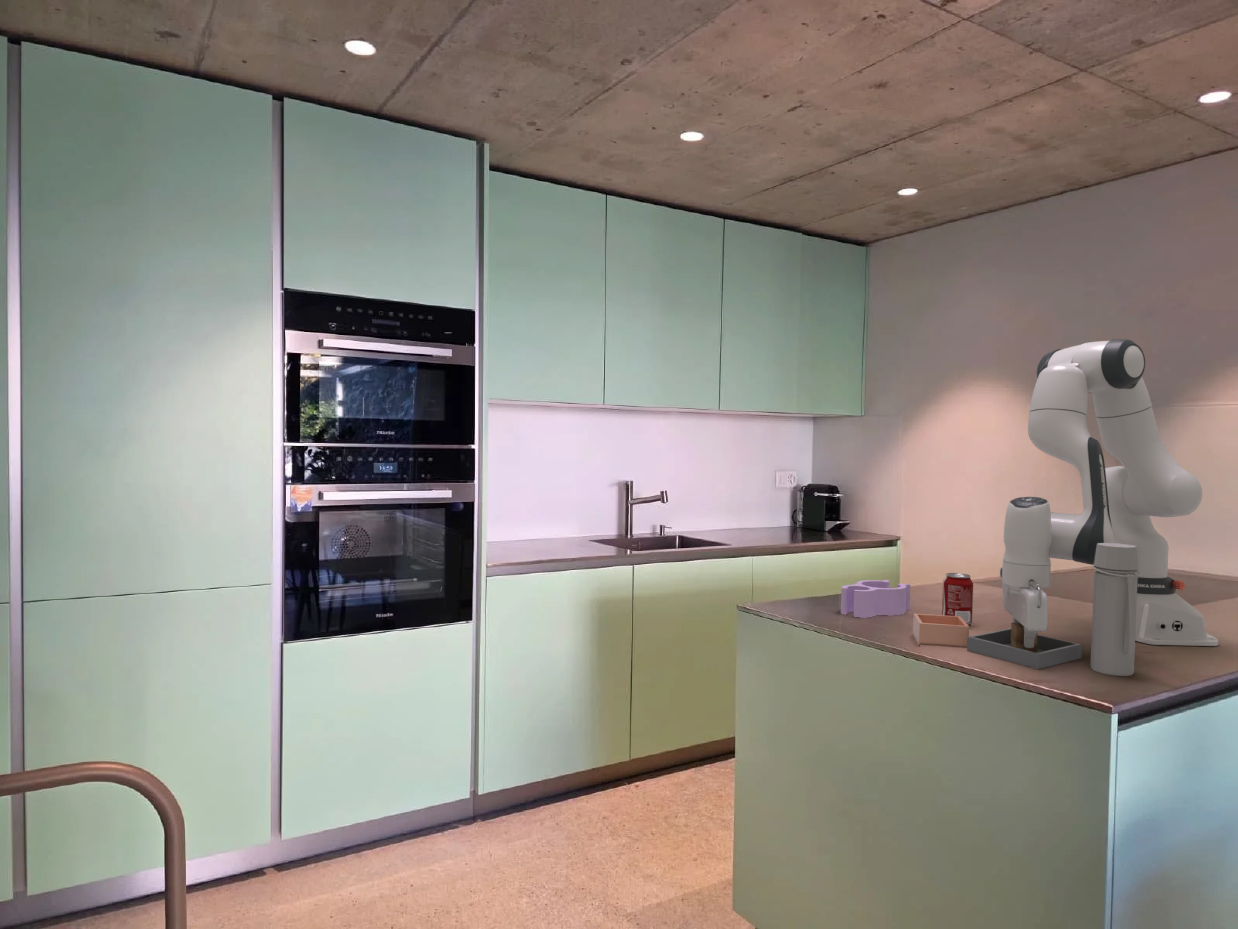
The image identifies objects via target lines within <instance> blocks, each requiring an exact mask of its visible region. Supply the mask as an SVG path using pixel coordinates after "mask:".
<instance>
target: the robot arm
mask: <svg viewBox="0 0 1238 929" xmlns="http://www.w3.org/2000/svg"><path fill="white" fill-rule="evenodd" d="M1145 368H1146V357H1145V354H1144V351H1143V349H1142V348H1141V347H1140V346H1139V345H1138V344H1137V343H1136V342H1135V341H1134V340H1131V339H1126V338H1125V339H1124V338H1114V339H1113V338H1112V339H1111V340H1100V341H1090V342H1085V343H1082V344H1078V345H1073V346H1069V347H1065V348H1057V349H1055V350H1052V351H1050V352H1047V353H1046V354H1044V355H1043V356H1042V358H1041V359H1040V361H1039V362H1038V365H1037V366H1036V382H1035V384H1034V388H1033V391H1032V395H1031V400H1030V405H1029V413H1028V419H1027V433H1028V437H1029V440H1030V441H1031V442H1032V444H1033V445H1034V447H1035V448H1037V449H1039V451H1041V452H1042V453H1045V454H1046V455H1048V456H1051V457H1053V458H1056V459H1057V460H1061V461H1063V462H1065V463H1067V464H1068V463H1069V464H1070V465H1072V466H1073V467H1075V469H1077V471H1078V472H1079V475H1080V482H1081V483H1080V484H1081V495H1082V506H1083V510H1082V512H1081V513H1079V514H1077V513H1076V514H1075V513H1074V514H1073V513H1064V512H1061V513H1060V512H1053V511H1051V506H1050V502H1049V500H1047V499H1045V498H1044V497H1043V498H1042V497H1037V496H1022V497H1021V496H1020V497H1016V498H1014V499H1011V500H1010V501H1009V502H1008V504H1007V508H1006V512H1005V519H1004V526H1003V543H1004V548H1005V551H1004V555H1003V557H1002V566H1001V567H1000V568H999V577H1000V578H1001V583H1002V585H1001V586H1002V602H1003V608H1004V610H1005V612H1006V613H1008V614H1009V615H1010V616H1011V617H1012V623H1021V624H1022V625H1023V626H1024V630H1025V631H1024V637H1023V645H1024V646H1025V647H1026V648H1033V647H1034V639H1035V636H1036V633H1037V634H1038V632H1047V629H1048V628H1049V604H1048V603H1049V602H1048V595H1047V593H1046V592H1045V591H1044V589H1047V588H1049V587H1051V570H1052V569H1051V565H1052V564H1051V563H1052V560H1051V559H1057V560H1066V561H1067V560H1068V561H1074V562H1075V563H1080V564H1081V563H1082V564H1086V565H1090V566H1094V560H1095V553H1096V547H1097V544H1098V543H1118V544H1128V545H1134V546H1137V559H1138V569H1137V570H1138V571H1140V572H1141V573H1142V575H1141V576H1139V577H1138V581H1137V606H1136V630H1135V642H1140V643H1142V644H1148V645H1156V646H1162V645H1163V646H1200V647H1202V646H1203V647H1205V646H1206V647H1217V646H1218V645H1219V640H1218V638H1216V637H1215V636H1214V635H1212V634H1209V633H1208V632H1207V625H1206V621H1205V617H1204V616H1203V614H1202V613H1201V612H1200V611H1199V610H1198V609H1196V607H1194V606H1192V605H1191V604H1190V603H1189V602H1187V601H1186V600H1185V599H1184V598H1182V597H1181V596H1179V595H1178V594H1177V593H1176V591H1178V590H1179V591H1183V590H1184V589H1185V588H1186V583H1185V582H1184V581H1183V580H1179V579H1172V577H1169V576H1168V569H1169V544H1168V541H1167V540H1166V538H1165V537H1164V536H1163V535H1161V534H1160V533H1159V532H1158V531H1157V530H1156V528H1155V527H1154V525H1153V523H1152V519H1151V517H1159V518H1177V517H1183V516H1184V517H1185V516H1188V515H1190V514H1192V513H1194V512H1195V511H1196V510H1197V509H1198V508H1199V506H1200V504H1201V502H1202V499H1203V488H1202V484H1201V483H1200V481H1199V479H1198V478H1197V477H1196V476H1195V475H1193V474H1192V473H1191V472H1188V471H1187V470H1186V469H1185V468H1184V467H1183V466H1181V465H1180V464H1179V463H1178V462H1177V461H1176V460H1175V458H1174V457H1173V456H1172V454H1171V453H1170V451H1168V449H1167V446H1165V443H1164V442H1163V440H1162V437H1161V435H1160V432H1159V428H1158V425H1157V424H1158V423H1157V422H1156V421H1157V420H1156V416H1155V413H1154V409H1153V404H1152V400H1151V397H1150V393H1149V390H1148V388H1147V385H1146V383H1145V380H1144V378H1143V375H1144V372H1145ZM1089 394H1092V399H1093V400H1092V402H1093V408H1094V413H1095V418H1096V423H1097V427H1098V430H1099V436H1100V439H1101V443H1102V446H1101V444H1100V441H1099V440H1098V439H1096V438H1094V437H1092V436H1091V434H1090V431H1089V428H1088V424H1087V422H1088V421H1087V418H1088V407H1089V406H1088V405H1089V404H1088V403H1089V402H1088V401H1089V397H1088V396H1089ZM1102 447H1103V448H1102ZM1103 449H1104V450H1105V451H1106V452H1107V453H1109V454H1110V455H1111V456H1113V457H1114V458H1116V459H1117V461H1119V462H1120V463H1121V465H1115V466H1110V467H1106V464H1105V457H1104V453H1103ZM1134 574H1135V575H1139V573H1138V572H1137V573H1134ZM1037 631H1038V632H1037Z"/></svg>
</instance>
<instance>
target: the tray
mask: <svg viewBox="0 0 1238 929" xmlns="http://www.w3.org/2000/svg"><path fill="white" fill-rule="evenodd" d="M1082 645H1083V644H1082V643H1079V642H1078V643H1077V642H1074V641H1070V640H1065V639H1060V638H1056V637H1051V636H1047V635H1044V634H1043V635H1041V634H1038V633H1037V653H1035V652H1031V651H1027V650H1023V649H1019V648H1015V647H1011V627H1009V628H1005V629H998V630H995V631H989V632H985V633H980V634H974V635H969V636H968V637H967V647H966V651H967V652H971V653H973V654H974V653H975V654H978V655H982V656H986V657H990V658H994V659H998V660H1001V661H1005V662H1009V663H1012V664H1016V665H1020V666H1024V667H1028V668H1032V669H1036V670H1041V669H1045V668H1049V667H1050V668H1051V667H1053V666H1057V665H1062V664H1065V663H1070V662H1073V661H1077V660H1081V659H1082V650H1083V649H1082V648H1083V646H1082Z"/></svg>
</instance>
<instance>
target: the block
mask: <svg viewBox="0 0 1238 929" xmlns="http://www.w3.org/2000/svg"><path fill="white" fill-rule="evenodd" d="M1010 628H1011V647H1015V648H1019V649H1023V650H1027V651H1031V652H1035V653H1037V634H1038V633H1039V631H1037V633H1036V636H1035V639H1034V647H1033V648H1026V647H1025V646H1024V645H1023V637H1024V631H1025V630H1024V626H1023V625H1022V624H1021V623H1013V622H1011V626H1010Z"/></svg>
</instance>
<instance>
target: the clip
mask: <svg viewBox="0 0 1238 929" xmlns="http://www.w3.org/2000/svg"><path fill="white" fill-rule="evenodd" d="M840 588H841V590H840V591H841V592H840V595H841V597H840V615H842V614H845V615H844V616H847V615H848V613H853V618H854V617H860V618H859V619H868V618H867V617H872V616H875V617H877V616H876V615H888V616H887V617H895V616H894V615H898V616H902V614H903V615H905V614H906V613H907V610H909V611H910V610H911V583H897V587H890V580H889V579H883V580H878V579H877V580H875V579H872V580H871V579H869V580H868V579H867V580H865V579H864V580H860V581H859V580H858V581H856V583H854V584H845V585H841V587H840ZM904 613H905V614H904ZM846 614H847V615H846ZM891 615H892V616H891ZM872 618H873V617H872Z"/></svg>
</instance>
